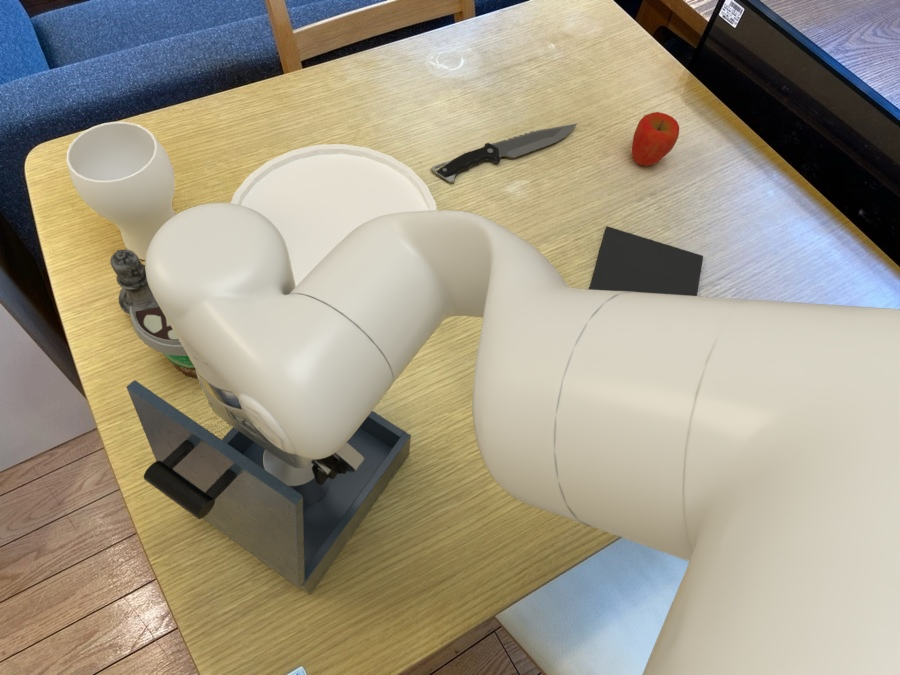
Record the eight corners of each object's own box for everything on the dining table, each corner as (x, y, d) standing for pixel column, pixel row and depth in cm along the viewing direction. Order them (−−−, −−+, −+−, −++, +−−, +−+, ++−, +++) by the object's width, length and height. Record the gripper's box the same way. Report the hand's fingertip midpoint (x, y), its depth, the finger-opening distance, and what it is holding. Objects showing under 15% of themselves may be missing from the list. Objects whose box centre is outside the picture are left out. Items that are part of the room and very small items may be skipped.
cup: (173, 195, 86) (135, 105, 73) (213, 244, 82) (180, 158, 70) (98, 230, 82) (43, 142, 69) (136, 284, 78) (86, 201, 65)
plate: (437, 321, 79) (439, 311, 77) (211, 313, 77) (205, 302, 75) (438, 161, 93) (439, 149, 91) (246, 151, 91) (243, 138, 89)
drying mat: (701, 257, 88) (703, 255, 88) (689, 338, 81) (690, 336, 81) (605, 228, 89) (606, 225, 89) (584, 304, 82) (585, 302, 82)
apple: (655, 180, 95) (674, 142, 88) (618, 163, 96) (634, 124, 90) (670, 156, 98) (689, 118, 91) (634, 140, 99) (651, 100, 93)
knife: (588, 140, 98) (571, 119, 100) (590, 135, 97) (573, 114, 99) (440, 187, 91) (425, 164, 93) (441, 183, 90) (426, 159, 92)
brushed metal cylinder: (340, 462, 68) (335, 438, 62) (317, 514, 65) (309, 495, 59) (290, 443, 69) (280, 419, 63) (264, 494, 66) (251, 473, 60)
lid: (134, 379, 46) (80, 422, 43) (303, 495, 43) (256, 550, 40) (175, 488, 60) (137, 526, 57) (305, 581, 57) (270, 626, 54)
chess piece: (143, 340, 75) (103, 282, 64) (120, 307, 77) (78, 245, 66) (188, 315, 77) (157, 255, 66) (165, 283, 79) (131, 220, 68)
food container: (158, 399, 71) (126, 357, 62) (155, 353, 74) (124, 307, 65) (269, 375, 74) (253, 332, 65) (261, 332, 76) (245, 284, 68)
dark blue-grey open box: (299, 383, 73) (292, 359, 68) (409, 454, 70) (411, 435, 65) (190, 508, 65) (174, 492, 60) (310, 595, 62) (302, 586, 57)
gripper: (120, 331, 43) (187, 424, 58) (320, 466, 40) (337, 528, 55) (198, 260, 47) (243, 365, 62) (388, 379, 43) (387, 460, 58)
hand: (287, 442), depth 58 cm, fingers open, 9 cm apart
